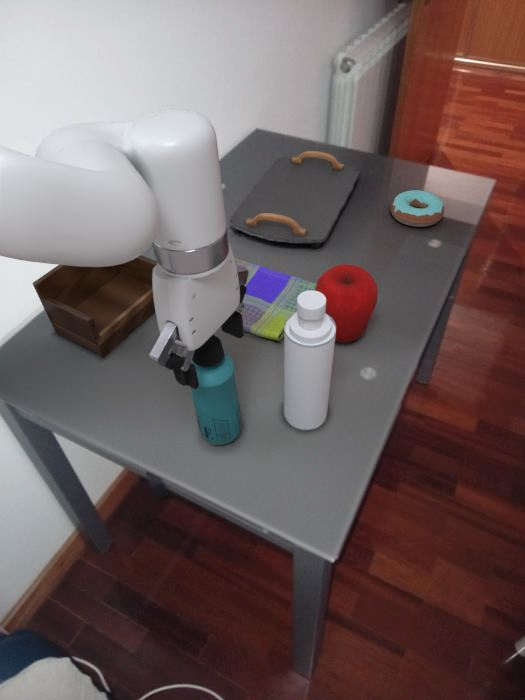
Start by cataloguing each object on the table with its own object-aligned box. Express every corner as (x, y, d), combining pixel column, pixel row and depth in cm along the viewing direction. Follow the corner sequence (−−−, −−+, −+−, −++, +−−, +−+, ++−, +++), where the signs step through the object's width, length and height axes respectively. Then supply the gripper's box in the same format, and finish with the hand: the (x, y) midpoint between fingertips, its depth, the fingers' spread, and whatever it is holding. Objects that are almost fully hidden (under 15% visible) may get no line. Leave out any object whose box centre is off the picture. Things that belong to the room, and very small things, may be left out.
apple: (369, 356, 84) (381, 295, 75) (310, 350, 86) (314, 290, 76) (370, 314, 92) (381, 254, 82) (315, 310, 93) (319, 250, 83)
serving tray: (280, 162, 134) (280, 139, 129) (364, 175, 128) (367, 151, 123) (221, 239, 110) (219, 215, 105) (321, 260, 103) (323, 235, 99)
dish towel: (276, 350, 86) (275, 338, 84) (169, 303, 96) (167, 292, 93) (322, 293, 96) (323, 282, 94) (222, 256, 105) (220, 245, 103)
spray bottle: (322, 393, 79) (333, 269, 61) (330, 427, 75) (346, 304, 56) (281, 398, 79) (280, 274, 61) (287, 433, 74) (289, 311, 56)
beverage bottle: (250, 424, 76) (242, 332, 61) (230, 459, 71) (216, 369, 57) (213, 410, 78) (196, 318, 63) (191, 443, 74) (169, 353, 59)
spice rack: (103, 358, 86) (82, 307, 77) (56, 333, 91) (31, 283, 82) (168, 299, 96) (157, 248, 87) (123, 280, 101) (108, 230, 92)
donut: (447, 209, 115) (452, 193, 112) (434, 235, 108) (439, 219, 105) (398, 198, 119) (400, 183, 116) (382, 223, 112) (385, 207, 109)
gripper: (211, 196, 56) (226, 307, 68) (103, 280, 46) (143, 392, 59) (267, 213, 53) (272, 326, 65) (164, 307, 43) (192, 418, 56)
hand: (211, 357), depth 62 cm, fingers open, 9 cm apart
